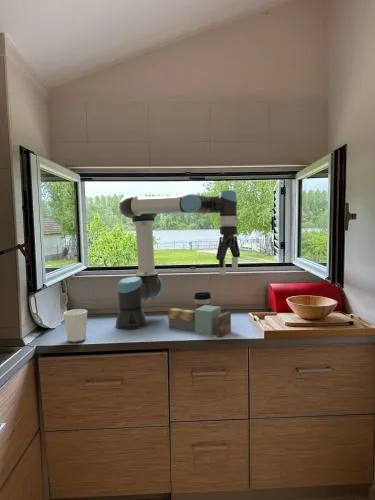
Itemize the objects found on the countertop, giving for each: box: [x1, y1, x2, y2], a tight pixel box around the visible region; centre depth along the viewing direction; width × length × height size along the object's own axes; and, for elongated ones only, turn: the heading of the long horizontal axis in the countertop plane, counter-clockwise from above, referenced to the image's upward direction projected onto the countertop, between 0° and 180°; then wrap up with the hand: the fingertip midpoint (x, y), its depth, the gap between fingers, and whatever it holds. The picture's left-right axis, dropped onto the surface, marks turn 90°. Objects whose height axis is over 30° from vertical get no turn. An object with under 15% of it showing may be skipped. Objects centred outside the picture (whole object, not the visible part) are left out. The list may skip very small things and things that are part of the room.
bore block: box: [194, 305, 222, 337], centre depth 157 cm, size 8×10×11 cm
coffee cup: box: [193, 291, 212, 309], centre depth 173 cm, size 8×8×15 cm
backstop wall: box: [216, 311, 232, 339], centre depth 152 cm, size 2×10×9 cm, turn 148°
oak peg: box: [167, 307, 195, 321], centre depth 164 cm, size 14×4×4 cm, turn 58°
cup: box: [63, 308, 88, 344], centre depth 149 cm, size 10×10×13 cm
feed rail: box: [168, 318, 195, 331], centre depth 164 cm, size 15×2×4 cm, turn 58°
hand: (228, 272), depth 155 cm, fingers open, 13 cm apart
